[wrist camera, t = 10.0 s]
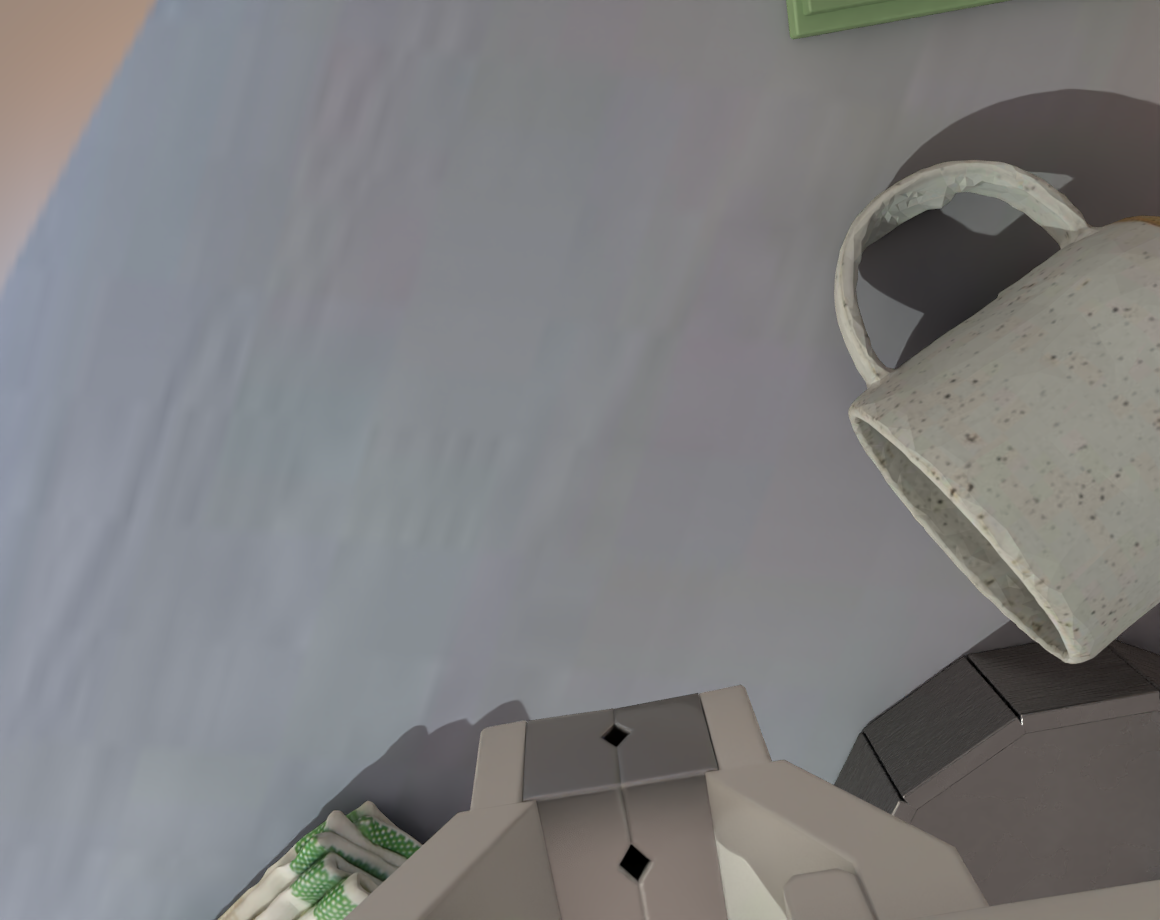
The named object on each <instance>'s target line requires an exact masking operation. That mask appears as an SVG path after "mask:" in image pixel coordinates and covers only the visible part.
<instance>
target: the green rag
mask: <svg viewBox="0 0 1160 920" xmlns="http://www.w3.org/2000/svg"><path fill="white" fill-rule="evenodd" d="M1004 1H1010V0H786V2H787V12H788V21H789V31H790V37H791V39H798V38H804V37H810V36H815V35H821V34H826V33H832V32H837V31H843V30H848V29H854V28H860V27H865V26H871V25H876V24H882V23H887V22H893V21H899V20H904V19H910V18H915V17H921V16H926V15H932V14H938V13H943V12H949V11H954V10H960V9H965V8H971V7H977V6H982V5H988V4H993V3H999V2H1004Z"/></svg>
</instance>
